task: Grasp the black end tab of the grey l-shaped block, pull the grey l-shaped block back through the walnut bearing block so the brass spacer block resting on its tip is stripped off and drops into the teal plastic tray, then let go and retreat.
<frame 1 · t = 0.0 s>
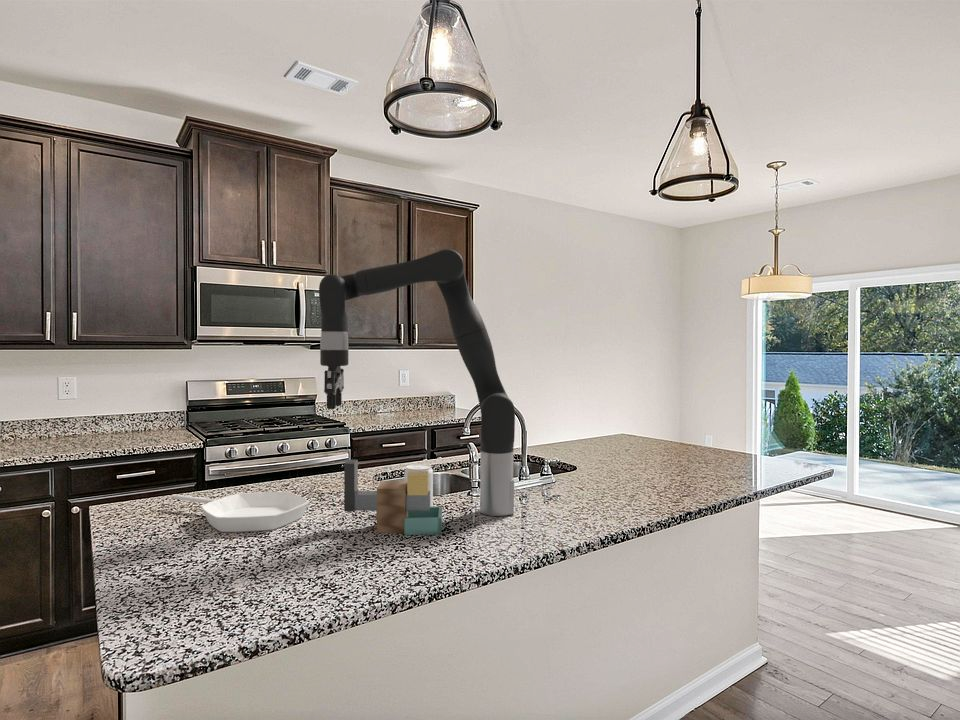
hand: (334, 407, 165), 29 cm above the worktop, fingers open, 8 cm apart
grey l-shaped block: (388, 485, 152), point 11 cm above the worktop, slide at 0.0 cm, touching spacer
pan: (231, 517, 162), on the worktop
tray: (424, 527, 153), on the worktop
spacer: (418, 492, 153), point 9 cm above the worktop, touching grey l-shaped block
bearing block: (392, 527, 153), on the worktop
beverage can: (418, 509, 171), on the worktop
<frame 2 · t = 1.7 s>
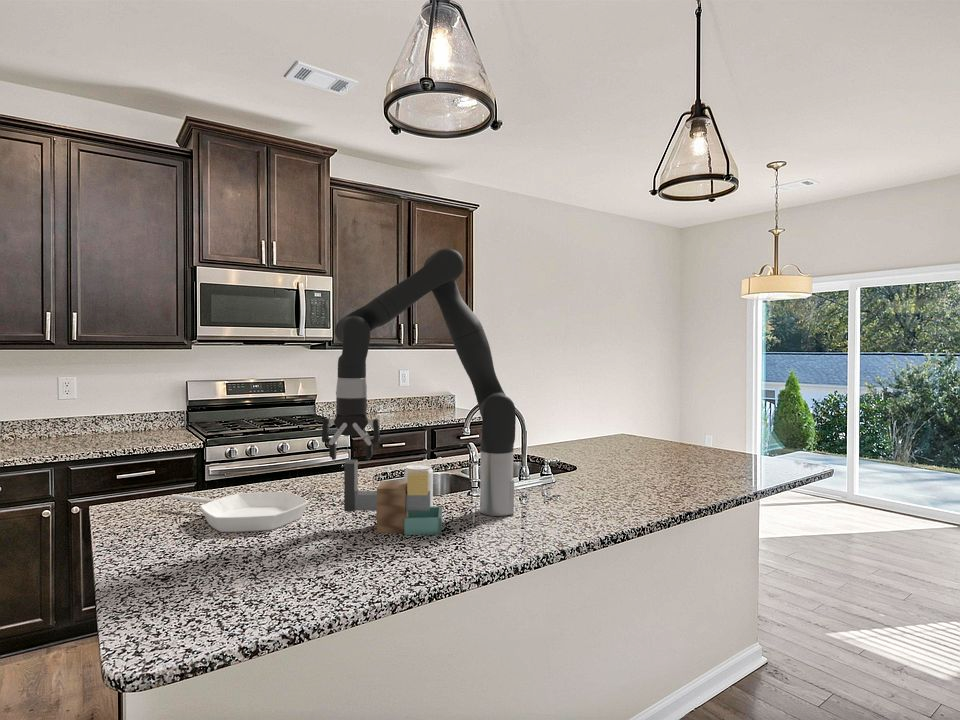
hand: (350, 459, 152), 18 cm above the worktop, fingers open, 8 cm apart
nothing on the worktop moved.
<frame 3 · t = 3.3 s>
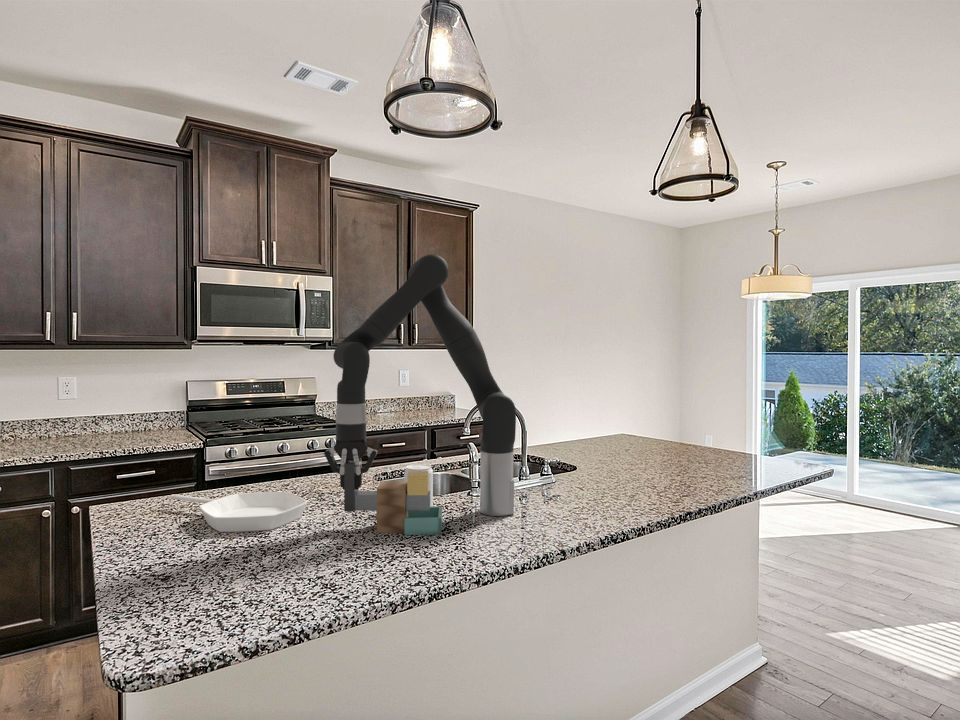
hand: (351, 488, 152), 10 cm above the worktop, fingers closed on grey l-shaped block, 2 cm apart
grey l-shaped block: (388, 485, 152), point 11 cm above the worktop, slide at 0.0 cm, touching gripper, spacer
everything else where it was.
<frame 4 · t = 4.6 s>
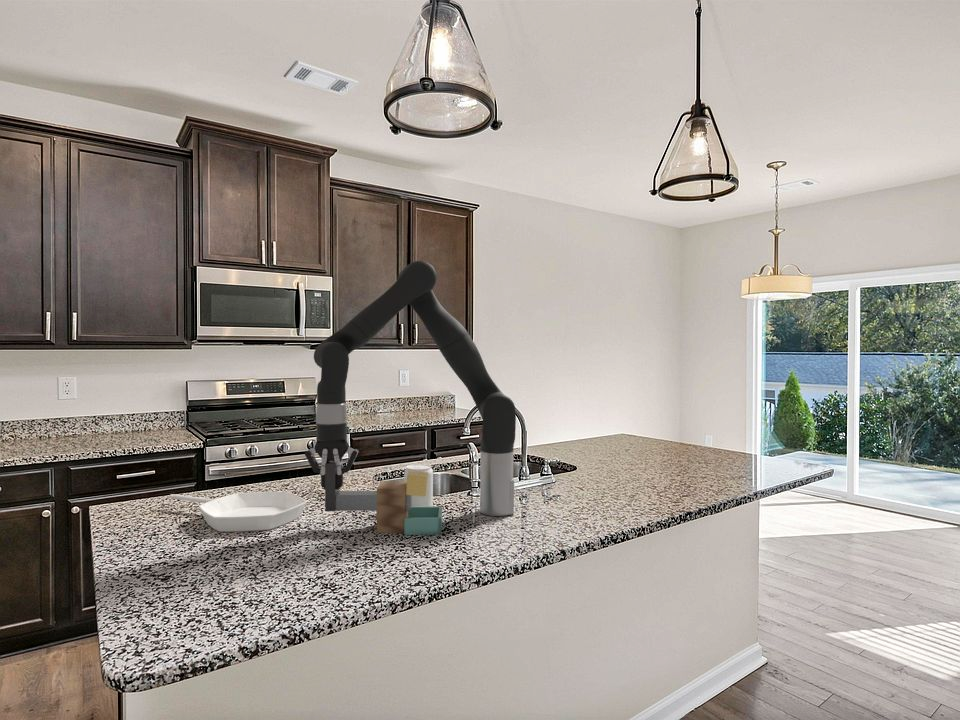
hand: (332, 488, 152), 10 cm above the worktop, fingers closed on grey l-shaped block, 2 cm apart
grey l-shaped block: (369, 485, 152), point 11 cm above the worktop, slide at 4.8 cm, touching gripper, spacer
spacer: (416, 493, 153), point 9 cm above the worktop, tilted 5°, touching bearing block, grey l-shaped block
everything else where it was.
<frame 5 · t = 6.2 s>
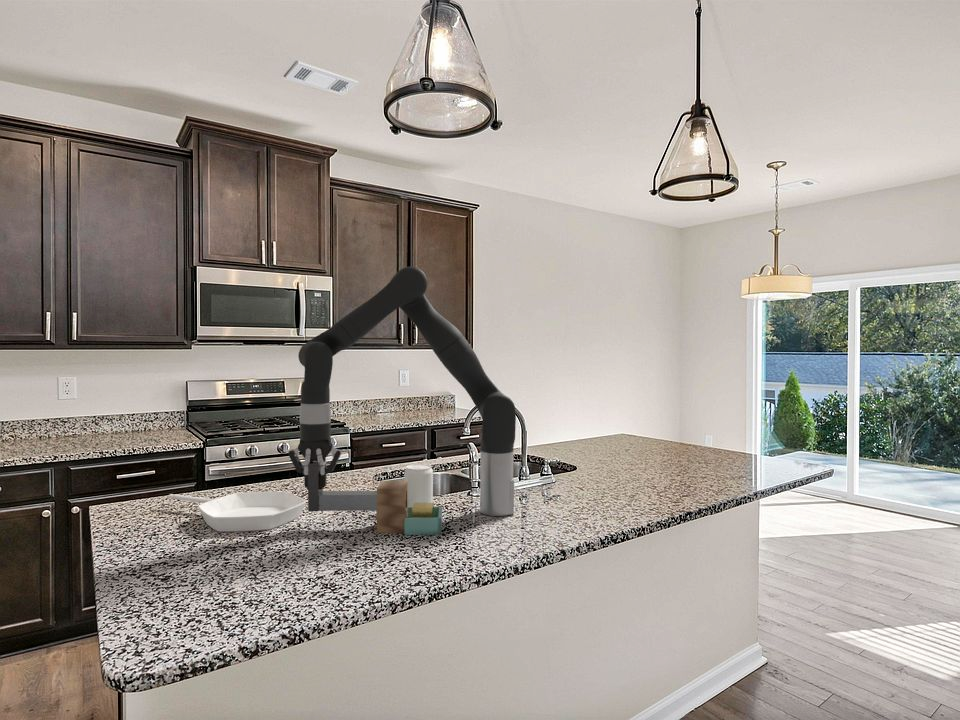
hand: (315, 488, 152), 10 cm above the worktop, fingers closed on grey l-shaped block, 2 cm apart
grey l-shaped block: (352, 485, 152), point 11 cm above the worktop, slide at 8.9 cm, touching gripper
spacer: (413, 514, 153), point 3 cm above the worktop, tilted 90°, touching tray
everything else where it was.
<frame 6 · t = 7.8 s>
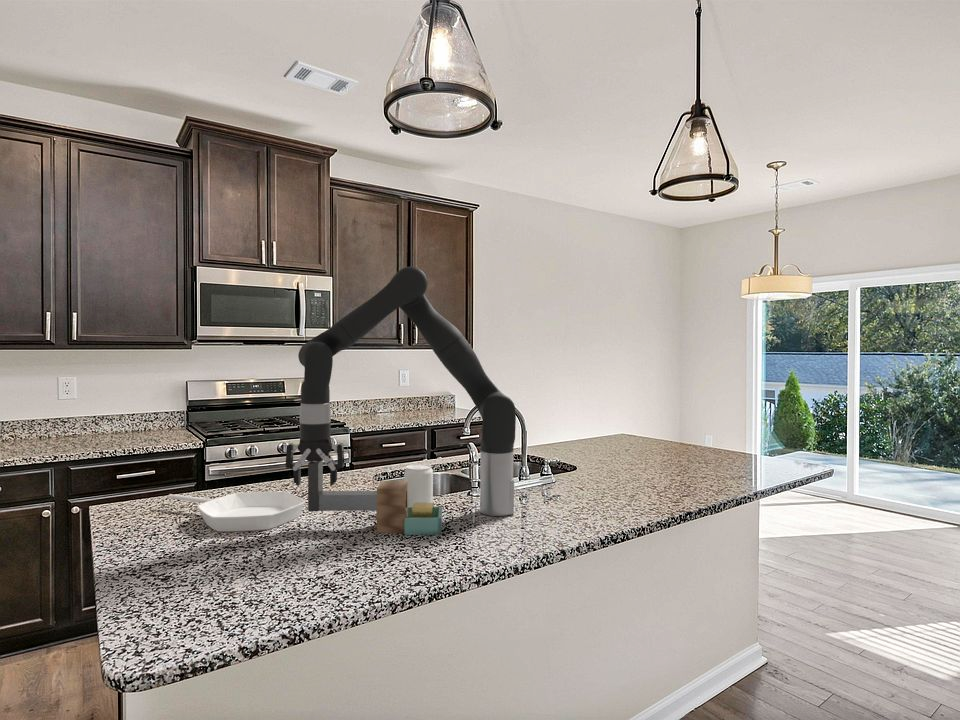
hand: (315, 484, 151), 11 cm above the worktop, fingers open, 8 cm apart
grey l-shaped block: (352, 485, 152), point 11 cm above the worktop, slide at 8.9 cm
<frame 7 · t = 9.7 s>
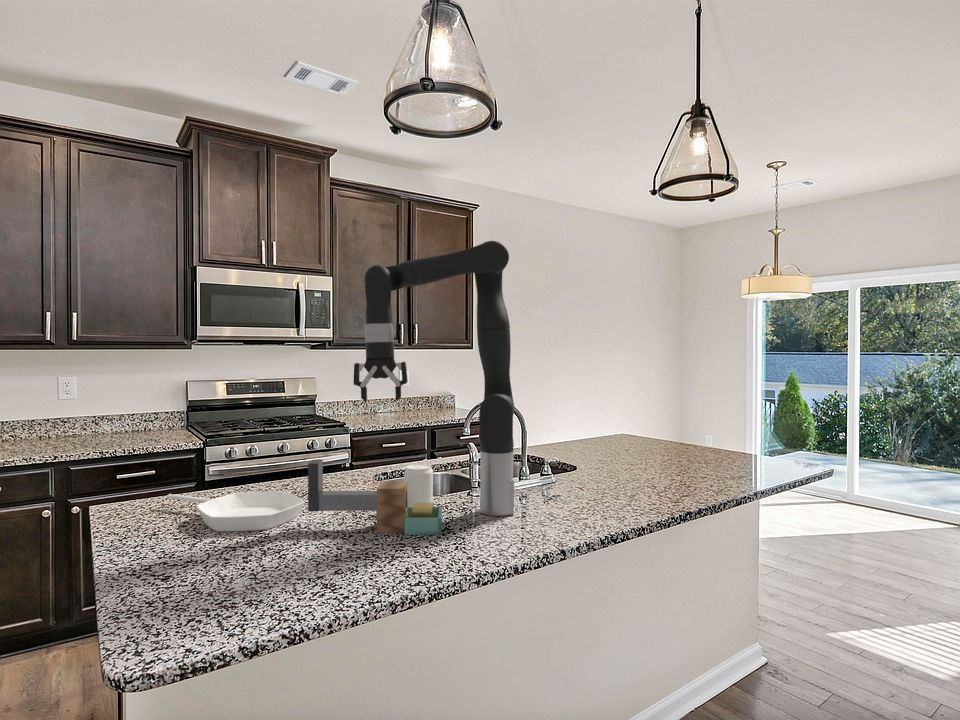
hand: (381, 400, 162), 31 cm above the worktop, fingers open, 8 cm apart
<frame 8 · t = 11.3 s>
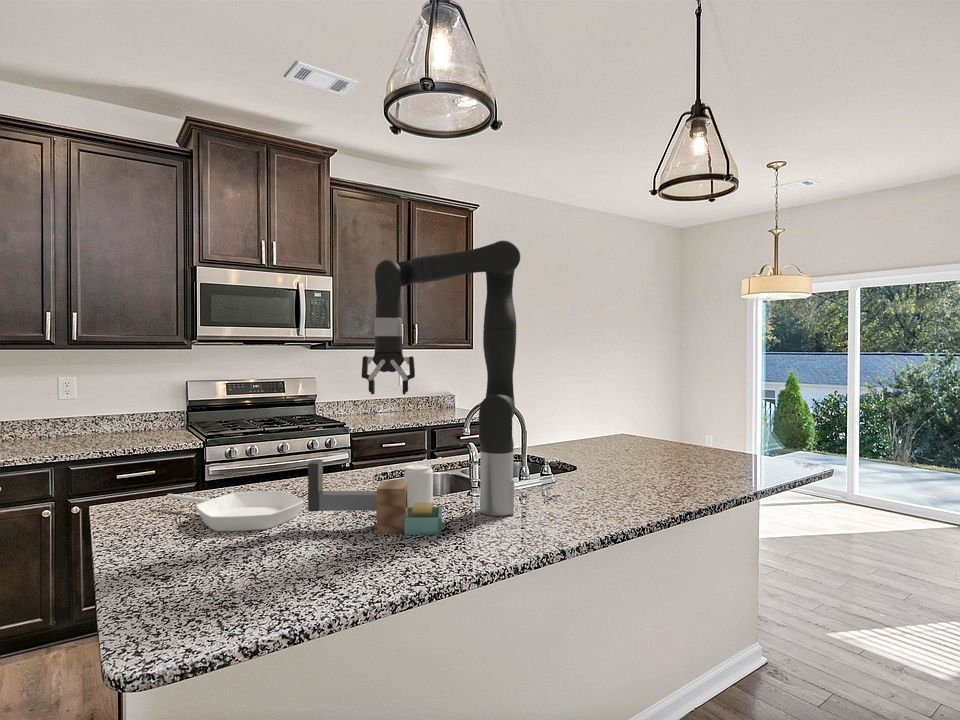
hand: (388, 394, 164), 33 cm above the worktop, fingers open, 8 cm apart
at the end: grey l-shaped block slide at 8.9 cm; spacer inside the target area (2.7 cm from its centre), point 3.3 cm above the worktop; the gripper is holding nothing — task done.
